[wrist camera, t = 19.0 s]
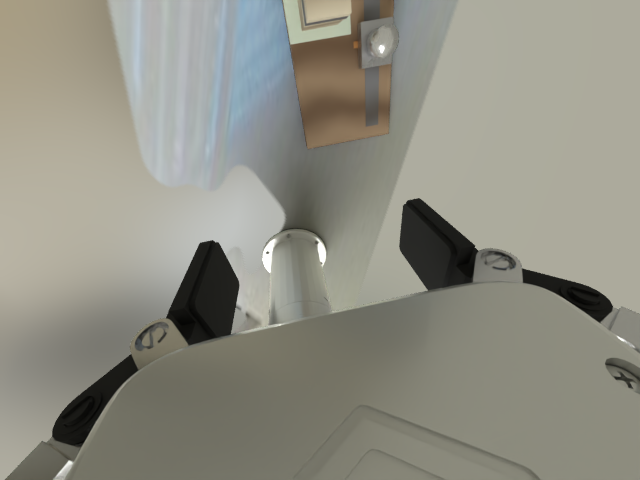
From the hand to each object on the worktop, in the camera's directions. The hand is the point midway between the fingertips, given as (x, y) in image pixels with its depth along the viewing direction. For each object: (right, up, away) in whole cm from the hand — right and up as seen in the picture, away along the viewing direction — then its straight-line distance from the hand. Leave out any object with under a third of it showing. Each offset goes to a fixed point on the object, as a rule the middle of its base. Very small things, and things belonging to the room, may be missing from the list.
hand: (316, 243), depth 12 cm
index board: (+3, +23, +16) cm, 28 cm away
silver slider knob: (+6, +23, +15) cm, 28 cm away
